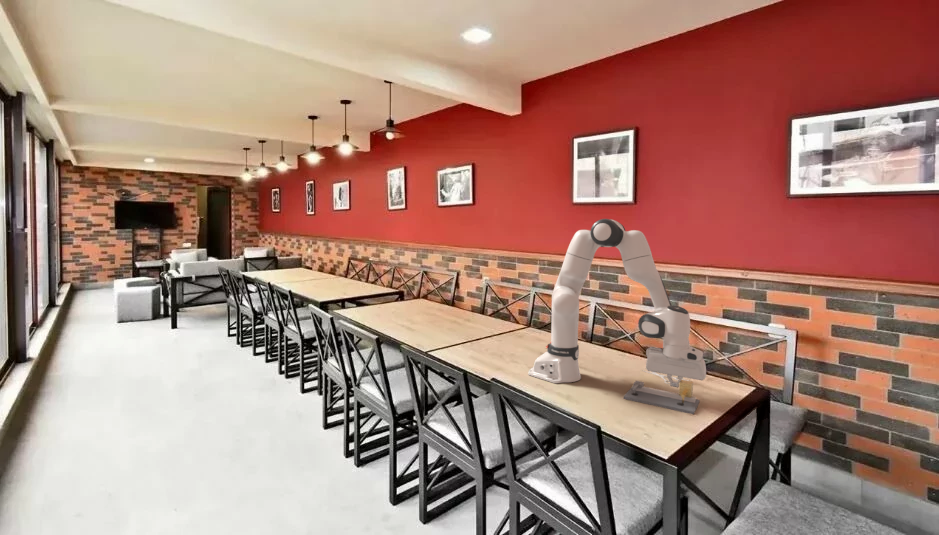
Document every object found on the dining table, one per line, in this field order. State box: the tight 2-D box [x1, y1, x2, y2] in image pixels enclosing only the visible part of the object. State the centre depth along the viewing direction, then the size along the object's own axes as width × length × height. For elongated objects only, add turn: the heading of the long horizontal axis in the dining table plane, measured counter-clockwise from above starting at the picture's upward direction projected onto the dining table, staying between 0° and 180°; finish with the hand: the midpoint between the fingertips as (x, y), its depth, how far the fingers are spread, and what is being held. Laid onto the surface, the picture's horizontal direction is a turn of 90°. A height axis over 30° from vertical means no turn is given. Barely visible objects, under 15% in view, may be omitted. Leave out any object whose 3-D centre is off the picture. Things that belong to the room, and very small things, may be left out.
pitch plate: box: [623, 380, 701, 415], centre depth 167 cm, size 24×12×4 cm, turn 55°
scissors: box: [641, 369, 690, 385], centre depth 193 cm, size 11×1×20 cm
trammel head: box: [678, 379, 694, 403], centre depth 163 cm, size 4×7×6 cm, turn 145°
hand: (674, 386), depth 167 cm, fingers closed
